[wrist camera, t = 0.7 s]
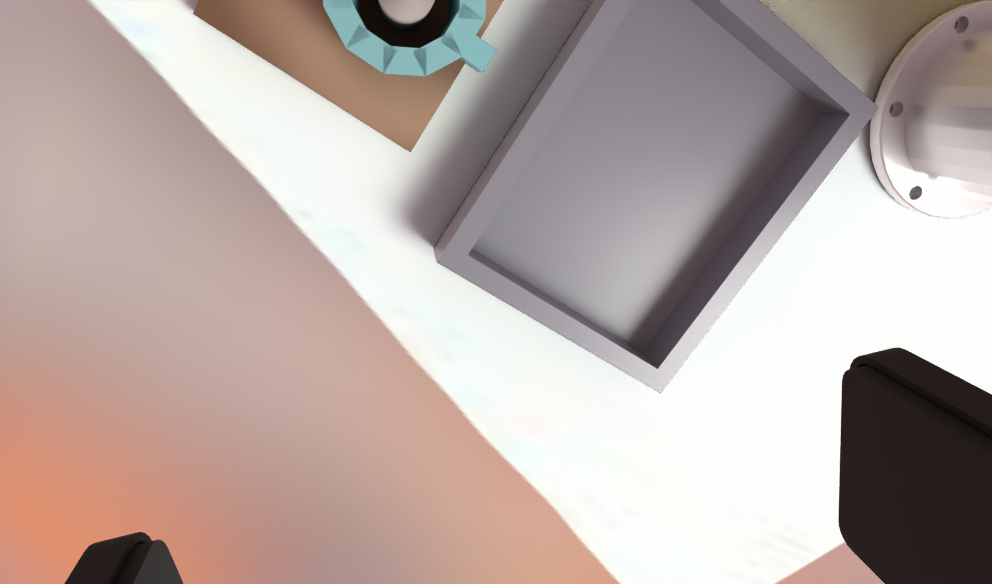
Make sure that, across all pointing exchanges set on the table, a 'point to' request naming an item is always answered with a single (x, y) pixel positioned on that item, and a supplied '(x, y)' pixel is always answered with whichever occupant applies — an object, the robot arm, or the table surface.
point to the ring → (423, 61)
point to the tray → (653, 175)
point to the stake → (348, 55)
